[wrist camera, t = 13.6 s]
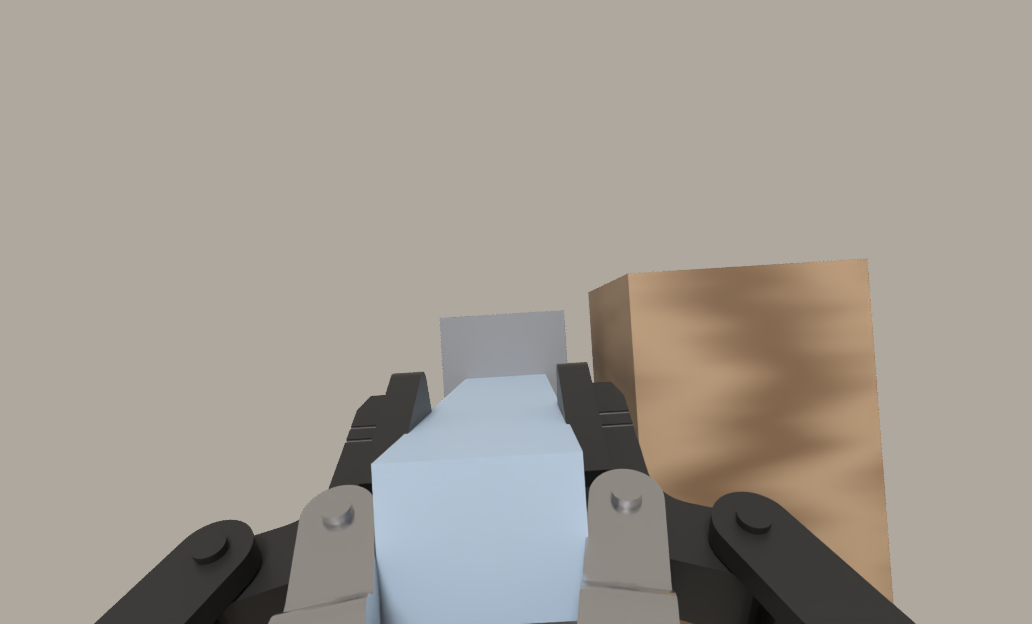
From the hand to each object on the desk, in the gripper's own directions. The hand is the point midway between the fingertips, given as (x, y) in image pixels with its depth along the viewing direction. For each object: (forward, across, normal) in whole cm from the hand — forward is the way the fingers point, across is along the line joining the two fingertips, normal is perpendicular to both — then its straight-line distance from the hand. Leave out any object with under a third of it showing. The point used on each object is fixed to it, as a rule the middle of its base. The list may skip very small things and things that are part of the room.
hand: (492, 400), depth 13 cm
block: (+3, 0, +5) cm, 5 cm away
